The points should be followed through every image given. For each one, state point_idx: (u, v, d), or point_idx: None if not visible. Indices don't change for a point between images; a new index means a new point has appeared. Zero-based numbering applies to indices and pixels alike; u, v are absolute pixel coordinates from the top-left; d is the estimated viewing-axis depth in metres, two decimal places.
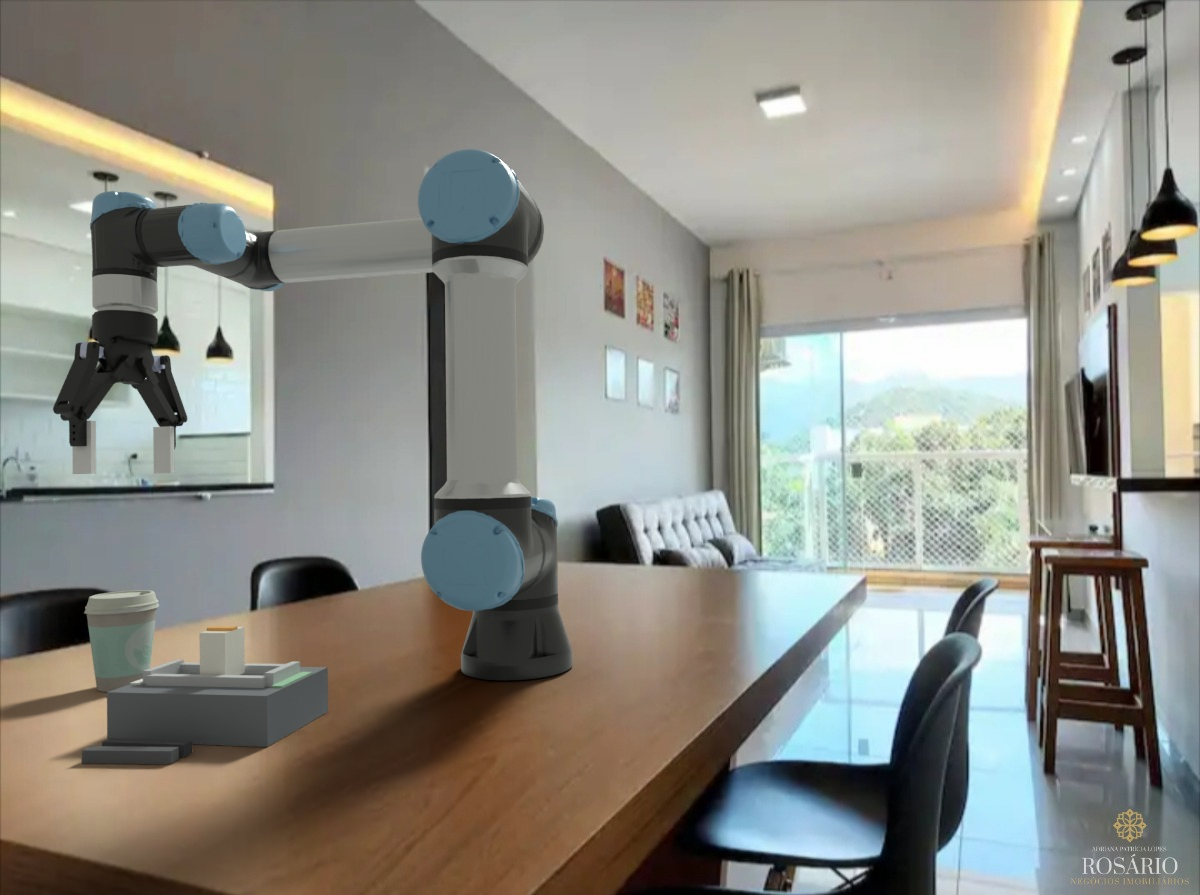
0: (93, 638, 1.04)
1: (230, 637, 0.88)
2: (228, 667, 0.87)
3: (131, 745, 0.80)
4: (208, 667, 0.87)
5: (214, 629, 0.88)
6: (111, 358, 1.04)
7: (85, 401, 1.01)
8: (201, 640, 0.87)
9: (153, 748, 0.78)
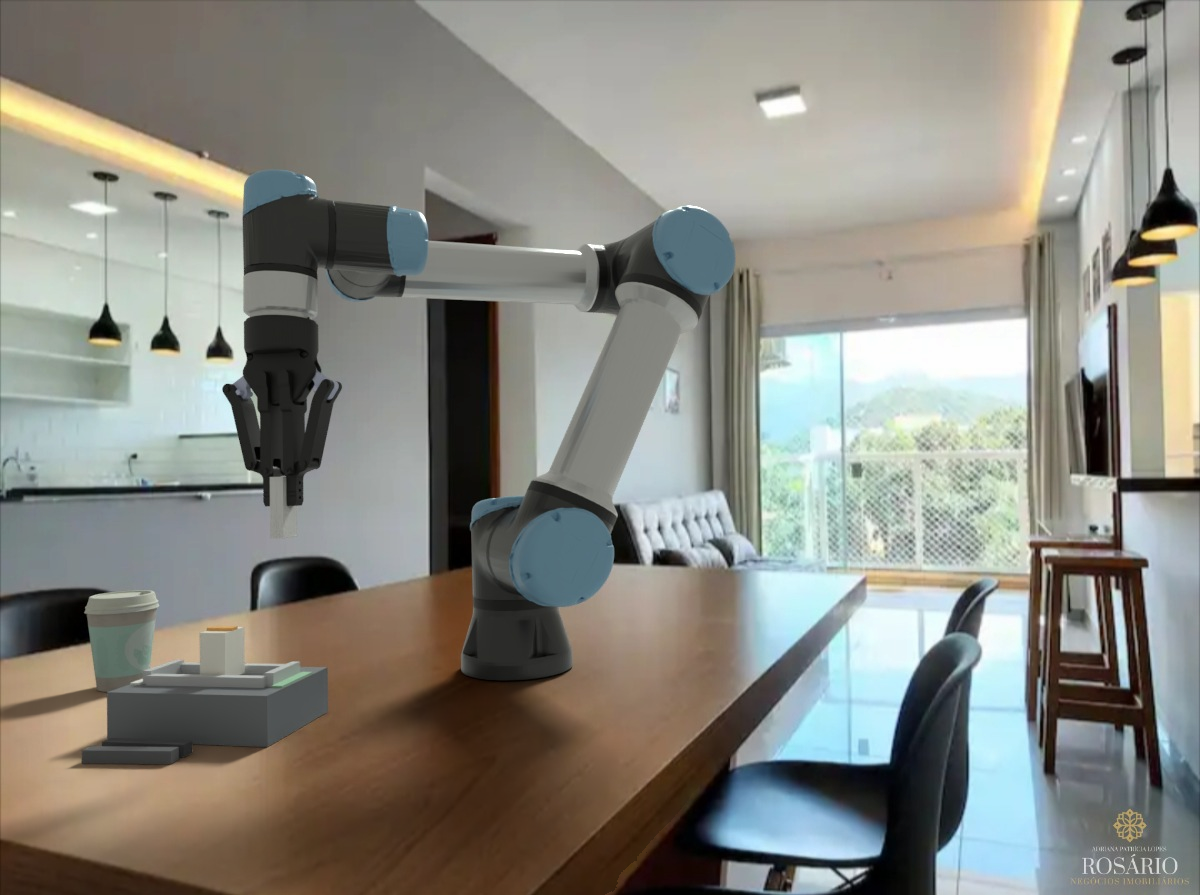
0: (93, 638, 1.04)
1: (230, 637, 0.88)
2: (228, 667, 0.87)
3: (131, 745, 0.80)
4: (208, 667, 0.87)
5: (214, 629, 0.88)
6: (251, 380, 0.88)
7: None
8: (201, 640, 0.87)
9: (153, 748, 0.78)
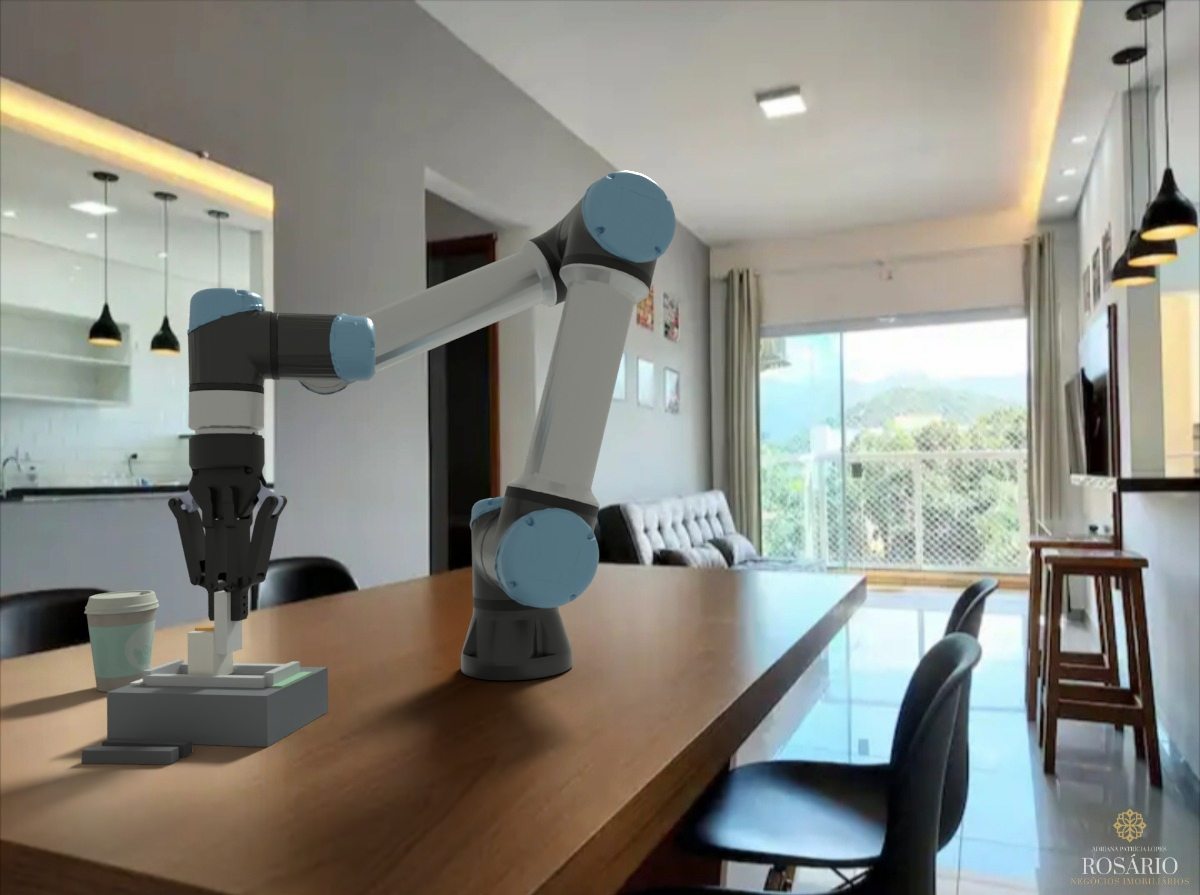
0: (93, 638, 1.04)
1: None
2: (216, 667, 0.88)
3: (131, 745, 0.80)
4: (196, 667, 0.87)
5: (202, 629, 0.89)
6: (197, 495, 0.88)
7: None
8: (189, 640, 0.87)
9: (153, 748, 0.78)
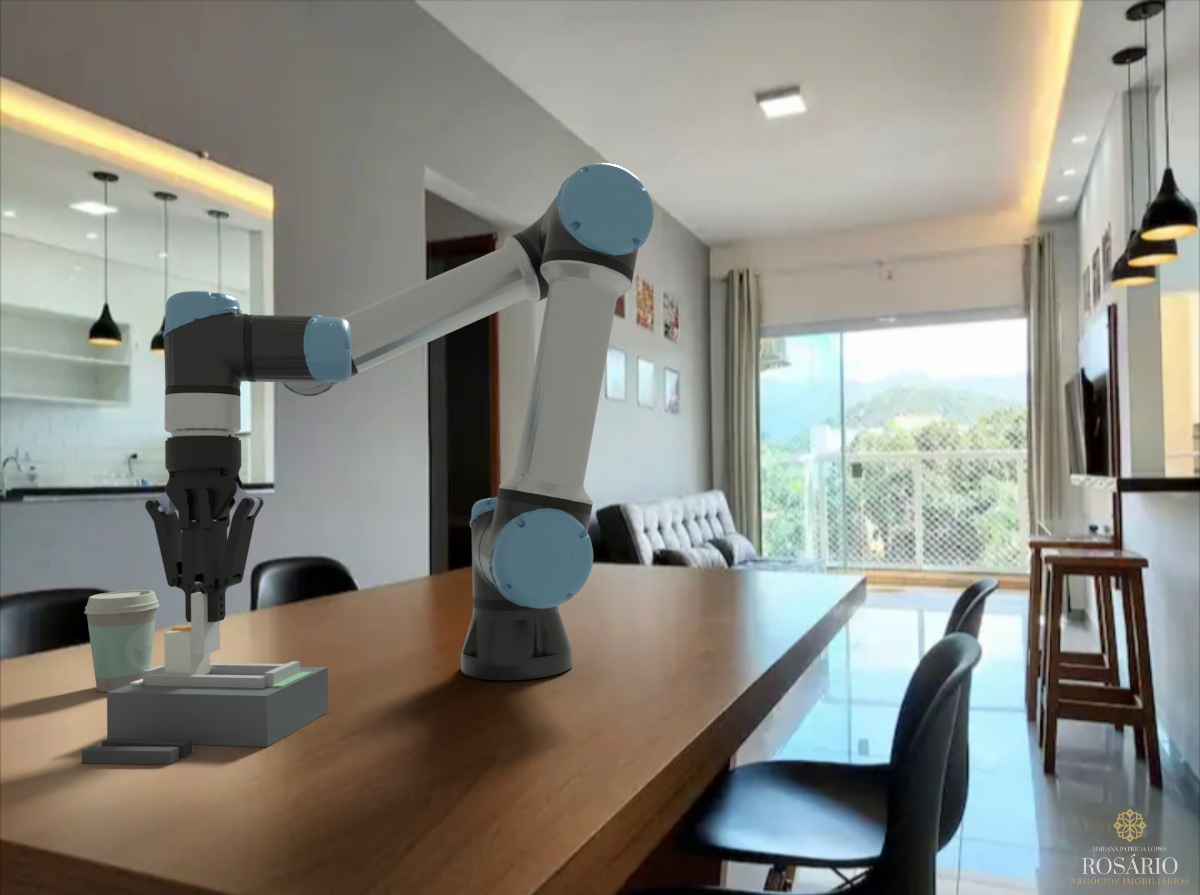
0: (93, 638, 1.04)
1: None
2: (193, 667, 0.88)
3: (131, 745, 0.80)
4: (173, 666, 0.88)
5: (179, 629, 0.89)
6: (174, 497, 0.89)
7: None
8: (166, 640, 0.88)
9: (153, 748, 0.78)
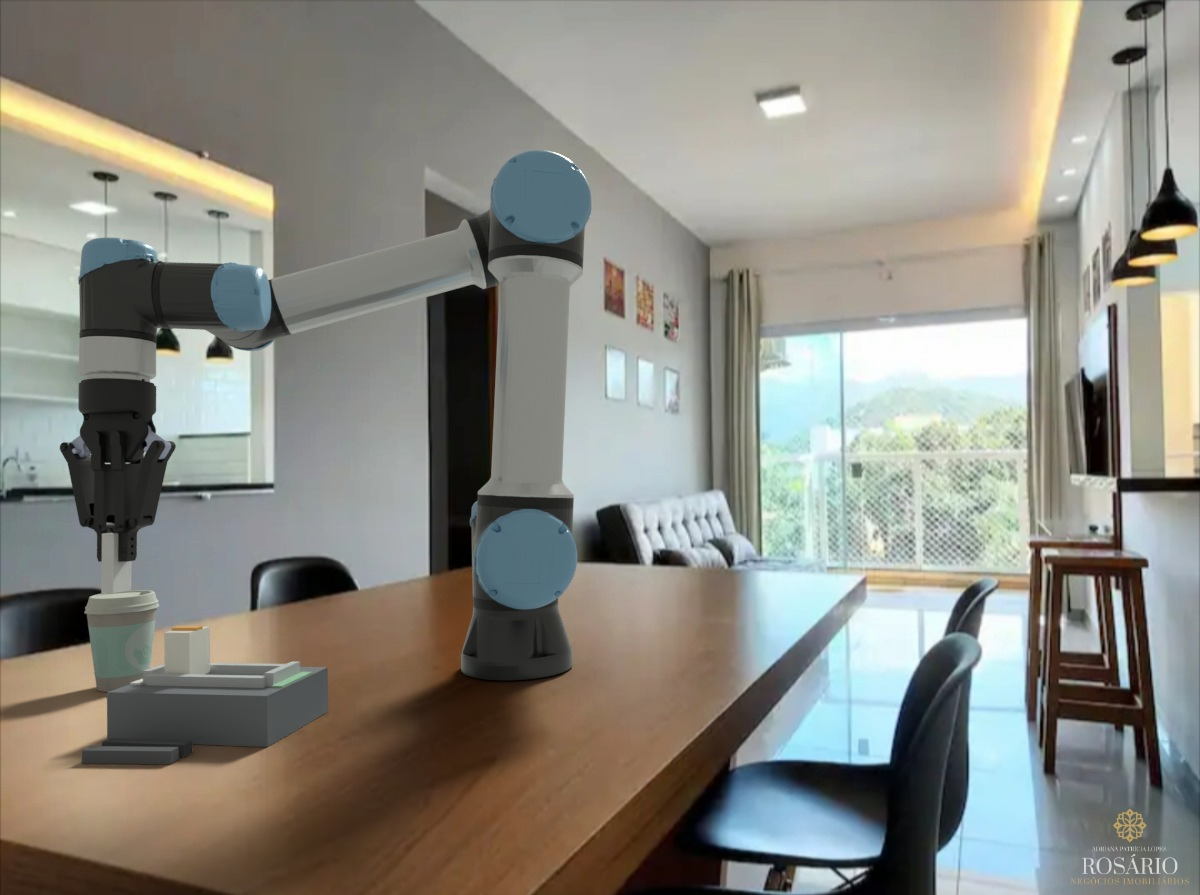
0: (93, 638, 1.04)
1: (194, 637, 0.88)
2: (193, 667, 0.88)
3: (131, 745, 0.80)
4: (173, 666, 0.88)
5: (179, 629, 0.89)
6: (87, 439, 0.91)
7: None
8: (166, 640, 0.88)
9: (153, 748, 0.78)
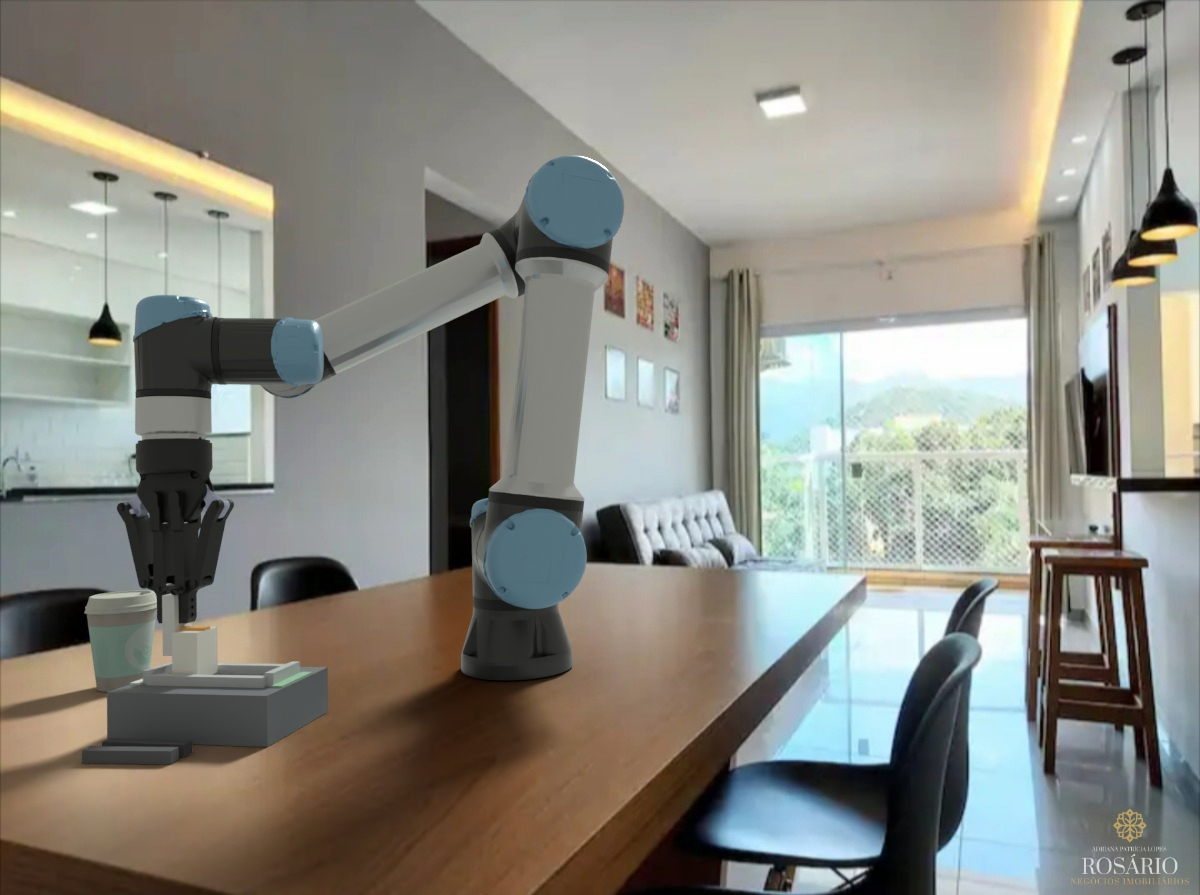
0: (93, 638, 1.04)
1: (202, 637, 0.88)
2: (201, 667, 0.88)
3: (131, 745, 0.80)
4: (181, 666, 0.88)
5: (187, 629, 0.89)
6: (145, 499, 0.90)
7: None
8: (173, 640, 0.88)
9: (153, 748, 0.78)
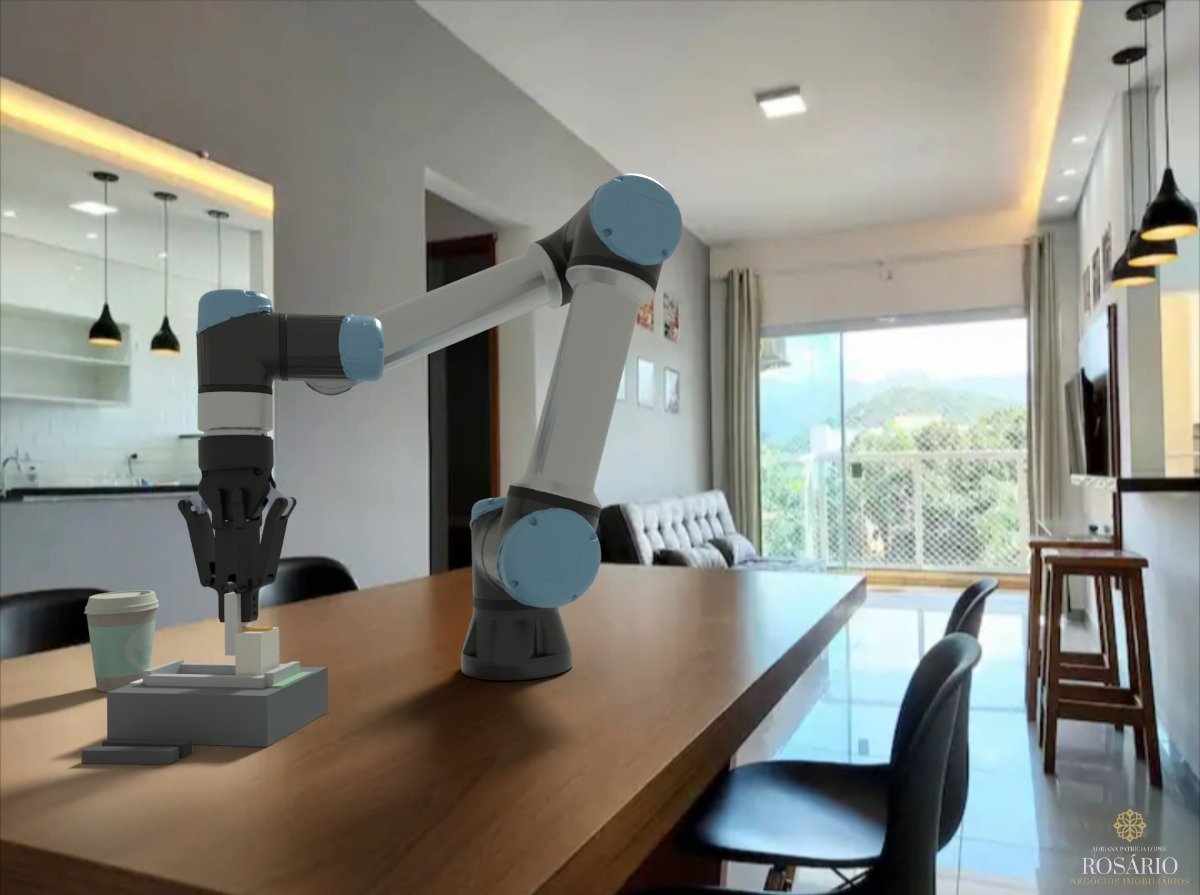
0: (93, 638, 1.04)
1: (265, 637, 0.87)
2: (264, 668, 0.87)
3: (131, 745, 0.80)
4: (244, 667, 0.86)
5: (249, 629, 0.88)
6: (206, 496, 0.88)
7: None
8: (237, 640, 0.87)
9: (153, 748, 0.78)
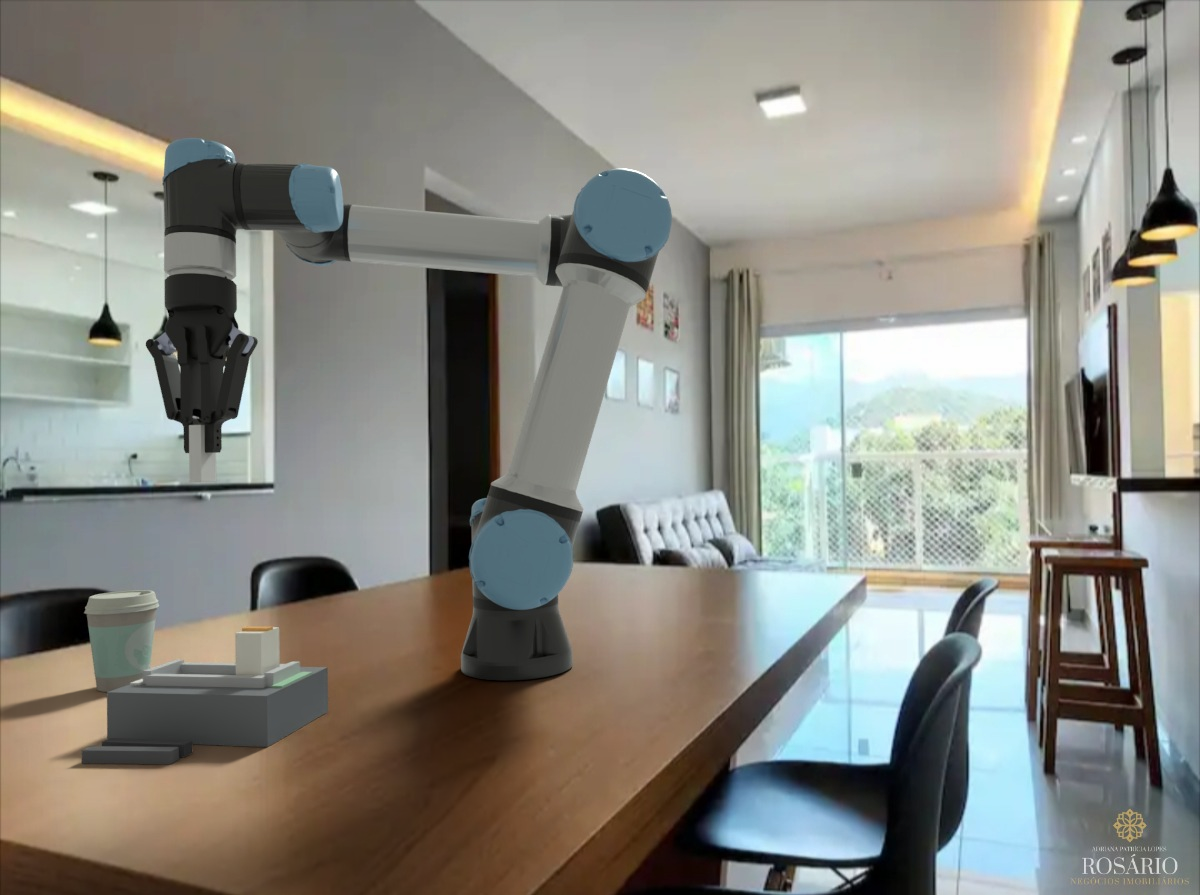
0: (93, 638, 1.04)
1: (266, 637, 0.87)
2: (264, 668, 0.87)
3: (131, 745, 0.80)
4: (244, 667, 0.86)
5: (250, 629, 0.88)
6: (173, 335, 0.94)
7: None
8: (237, 640, 0.87)
9: (153, 748, 0.78)
